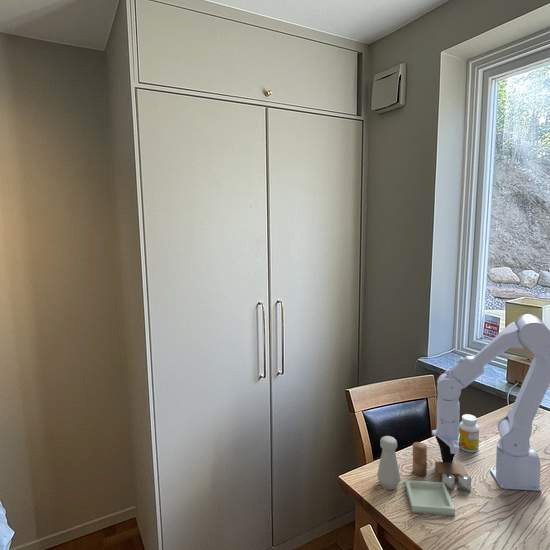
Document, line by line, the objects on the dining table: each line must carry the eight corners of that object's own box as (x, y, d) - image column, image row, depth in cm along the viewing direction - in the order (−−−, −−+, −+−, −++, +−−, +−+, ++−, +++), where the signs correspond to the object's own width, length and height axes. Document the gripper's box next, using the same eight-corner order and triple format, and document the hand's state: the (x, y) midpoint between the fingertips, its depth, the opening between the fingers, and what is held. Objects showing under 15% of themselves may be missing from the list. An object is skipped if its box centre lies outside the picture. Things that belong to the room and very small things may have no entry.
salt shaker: (401, 493, 101) (401, 445, 100) (378, 491, 103) (377, 444, 101) (398, 479, 107) (398, 433, 105) (376, 477, 108) (376, 432, 107)
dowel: (424, 469, 111) (425, 442, 110) (427, 477, 107) (428, 449, 106) (411, 468, 111) (411, 441, 110) (414, 476, 108) (414, 449, 107)
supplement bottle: (455, 442, 123) (456, 413, 122) (473, 442, 123) (474, 412, 122) (463, 452, 118) (464, 421, 117) (481, 452, 118) (482, 421, 116)
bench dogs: (468, 484, 104) (469, 474, 103) (472, 492, 101) (472, 481, 100) (440, 483, 105) (440, 472, 104) (443, 490, 102) (443, 480, 101)
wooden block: (461, 471, 110) (461, 462, 109) (467, 483, 105) (467, 474, 105) (434, 469, 111) (435, 461, 111) (439, 481, 106) (439, 472, 106)
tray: (443, 488, 102) (444, 482, 102) (454, 515, 93) (455, 508, 93) (405, 486, 104) (405, 480, 104) (412, 512, 95) (412, 505, 94)
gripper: (426, 405, 117) (426, 448, 119) (439, 430, 103) (438, 478, 105) (452, 405, 116) (451, 449, 118) (468, 431, 102) (467, 480, 103)
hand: (447, 463), depth 111 cm, fingers closed
